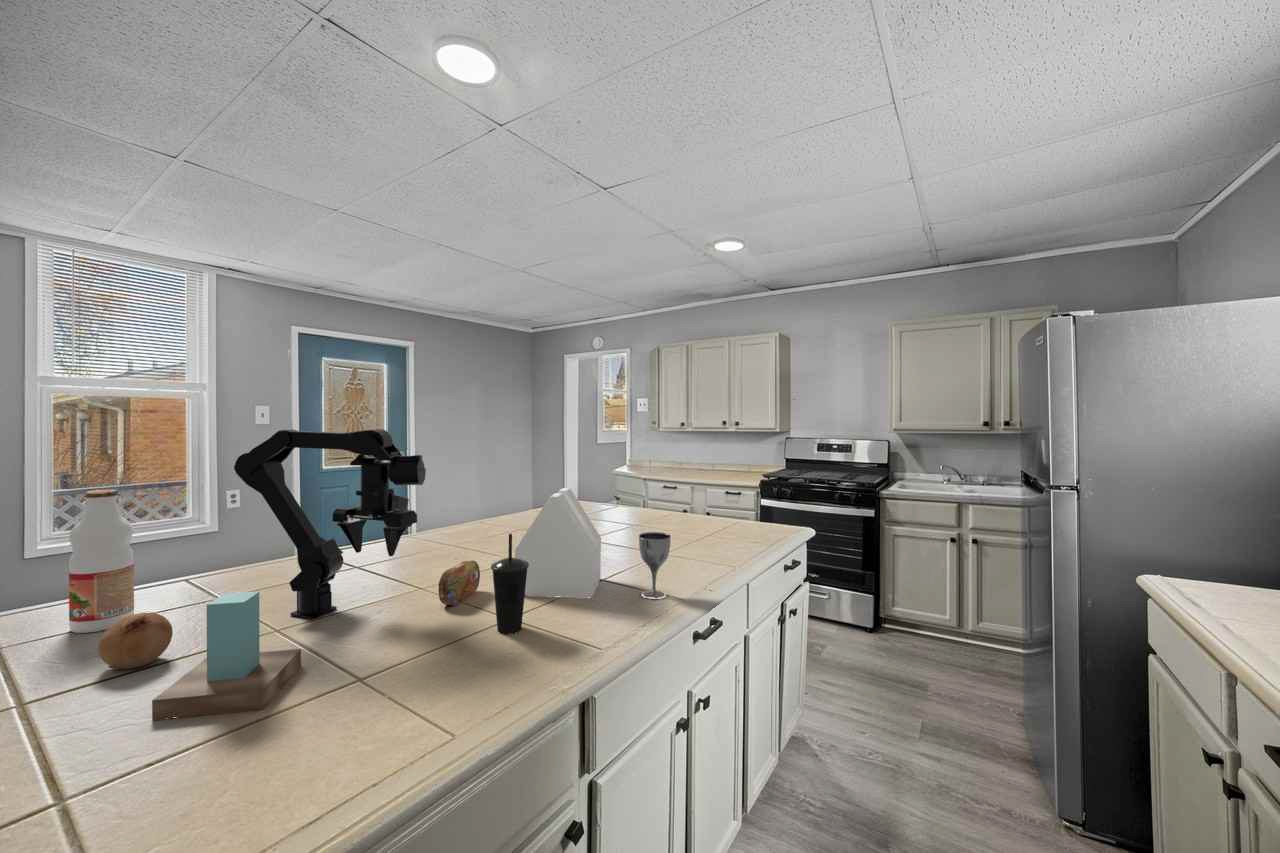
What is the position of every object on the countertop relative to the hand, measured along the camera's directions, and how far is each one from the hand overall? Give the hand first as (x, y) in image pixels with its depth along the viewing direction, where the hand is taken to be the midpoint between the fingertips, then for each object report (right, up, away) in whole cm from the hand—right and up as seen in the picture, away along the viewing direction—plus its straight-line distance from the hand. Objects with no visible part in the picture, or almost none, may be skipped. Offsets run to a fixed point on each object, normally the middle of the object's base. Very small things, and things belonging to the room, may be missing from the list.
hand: (374, 554), depth 117 cm
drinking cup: (+33, -14, -9) cm, 37 cm away
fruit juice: (-52, -13, -9) cm, 54 cm away
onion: (-29, -13, -25) cm, 41 cm away
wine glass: (+63, -14, +13) cm, 66 cm away
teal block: (-5, -11, -34) cm, 36 cm away
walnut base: (-5, -14, -34) cm, 37 cm away
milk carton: (+39, -14, +19) cm, 45 cm away
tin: (+16, -13, +9) cm, 23 cm away
